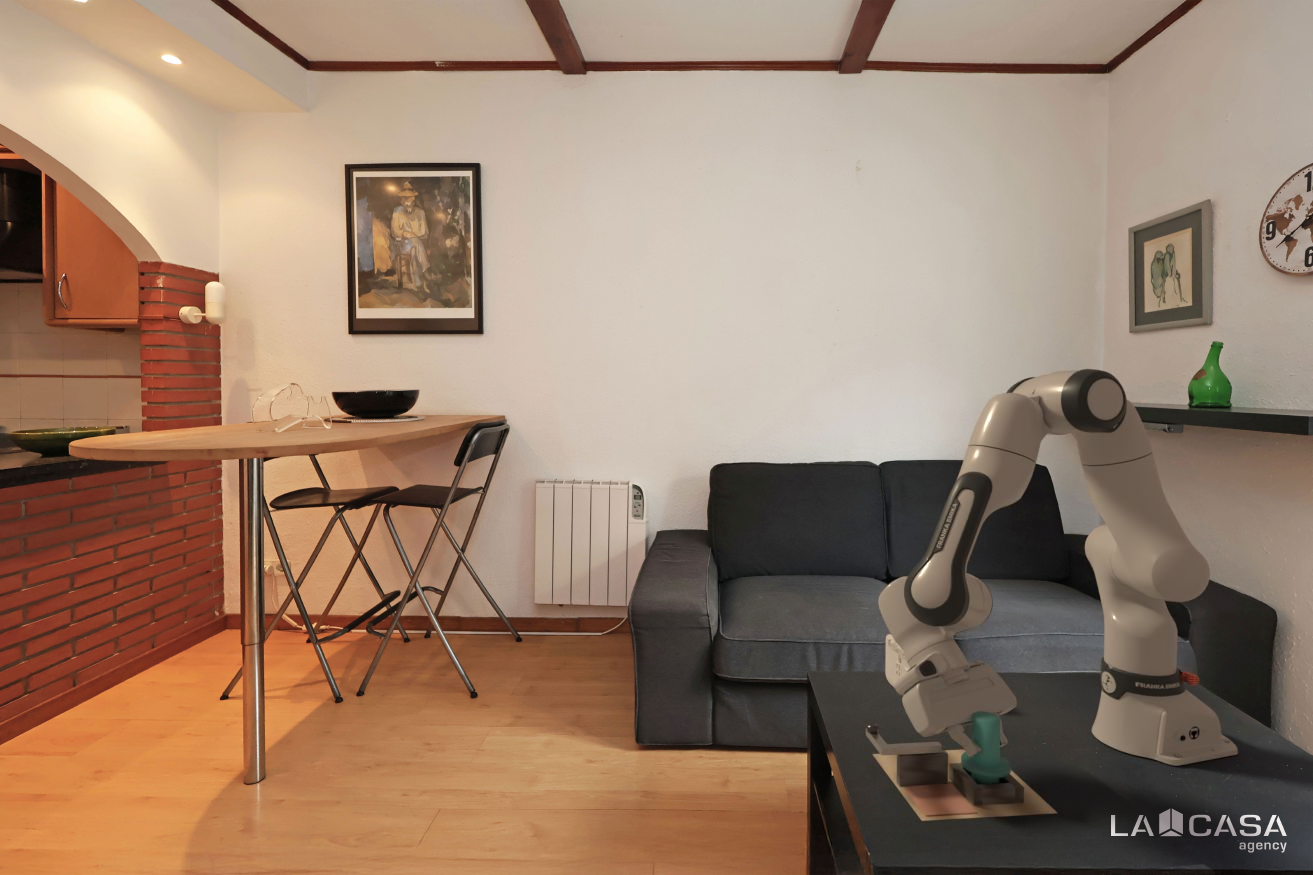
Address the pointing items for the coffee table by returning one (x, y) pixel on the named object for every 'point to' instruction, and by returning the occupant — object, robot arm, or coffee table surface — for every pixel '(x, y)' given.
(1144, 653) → the robot arm
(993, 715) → the plug
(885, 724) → the coffee table surface
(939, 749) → the lever
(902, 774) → the socket board
